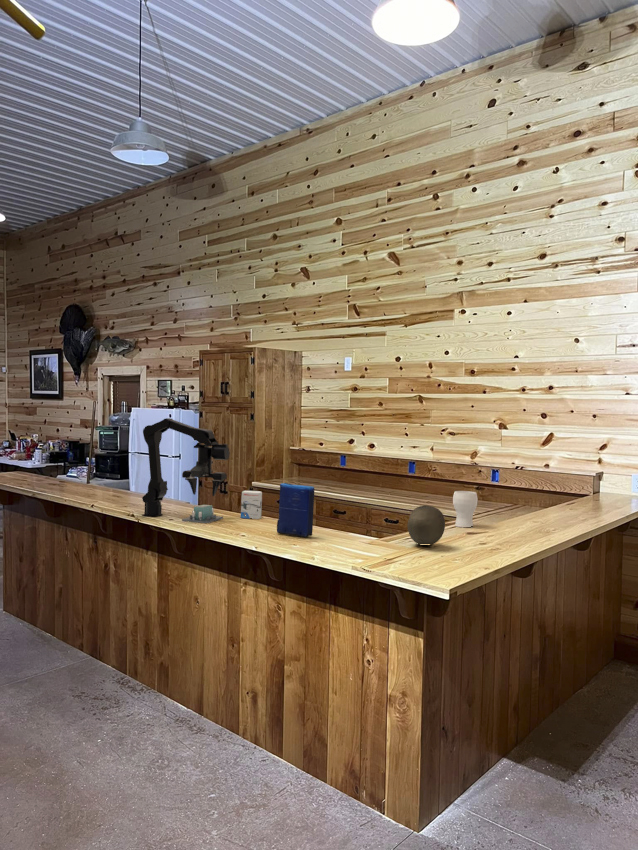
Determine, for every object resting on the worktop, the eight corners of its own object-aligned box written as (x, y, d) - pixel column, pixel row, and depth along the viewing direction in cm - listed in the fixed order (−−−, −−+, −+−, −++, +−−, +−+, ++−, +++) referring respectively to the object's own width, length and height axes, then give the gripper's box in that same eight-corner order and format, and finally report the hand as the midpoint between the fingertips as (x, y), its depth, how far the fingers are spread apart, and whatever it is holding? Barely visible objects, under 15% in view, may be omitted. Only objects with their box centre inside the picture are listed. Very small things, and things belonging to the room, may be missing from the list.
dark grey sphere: (399, 543, 240) (400, 503, 240) (432, 541, 245) (433, 502, 245) (418, 551, 227) (419, 509, 227) (452, 549, 232) (454, 508, 232)
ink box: (240, 518, 282) (241, 491, 282) (242, 516, 287) (243, 490, 287) (259, 519, 282) (260, 492, 281) (261, 517, 287) (262, 491, 286)
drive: (193, 518, 273) (193, 506, 273) (202, 516, 280) (203, 504, 280) (202, 519, 271) (203, 507, 271) (211, 516, 279) (212, 505, 279)
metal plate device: (182, 520, 271) (182, 510, 271) (198, 516, 284) (198, 506, 284) (207, 523, 267) (207, 513, 267) (222, 518, 280) (223, 508, 280)
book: (274, 534, 249) (276, 483, 249) (282, 532, 254) (283, 481, 253) (307, 539, 242) (309, 486, 242) (313, 536, 247) (315, 485, 247)
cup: (446, 525, 282) (448, 491, 282) (461, 523, 289) (462, 490, 289) (467, 529, 274) (468, 494, 274) (481, 527, 281) (482, 492, 281)
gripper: (175, 458, 270) (174, 495, 271) (215, 461, 265) (214, 499, 265) (189, 457, 281) (188, 492, 281) (227, 459, 275) (226, 495, 275)
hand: (203, 495), depth 275 cm, fingers open, 9 cm apart
